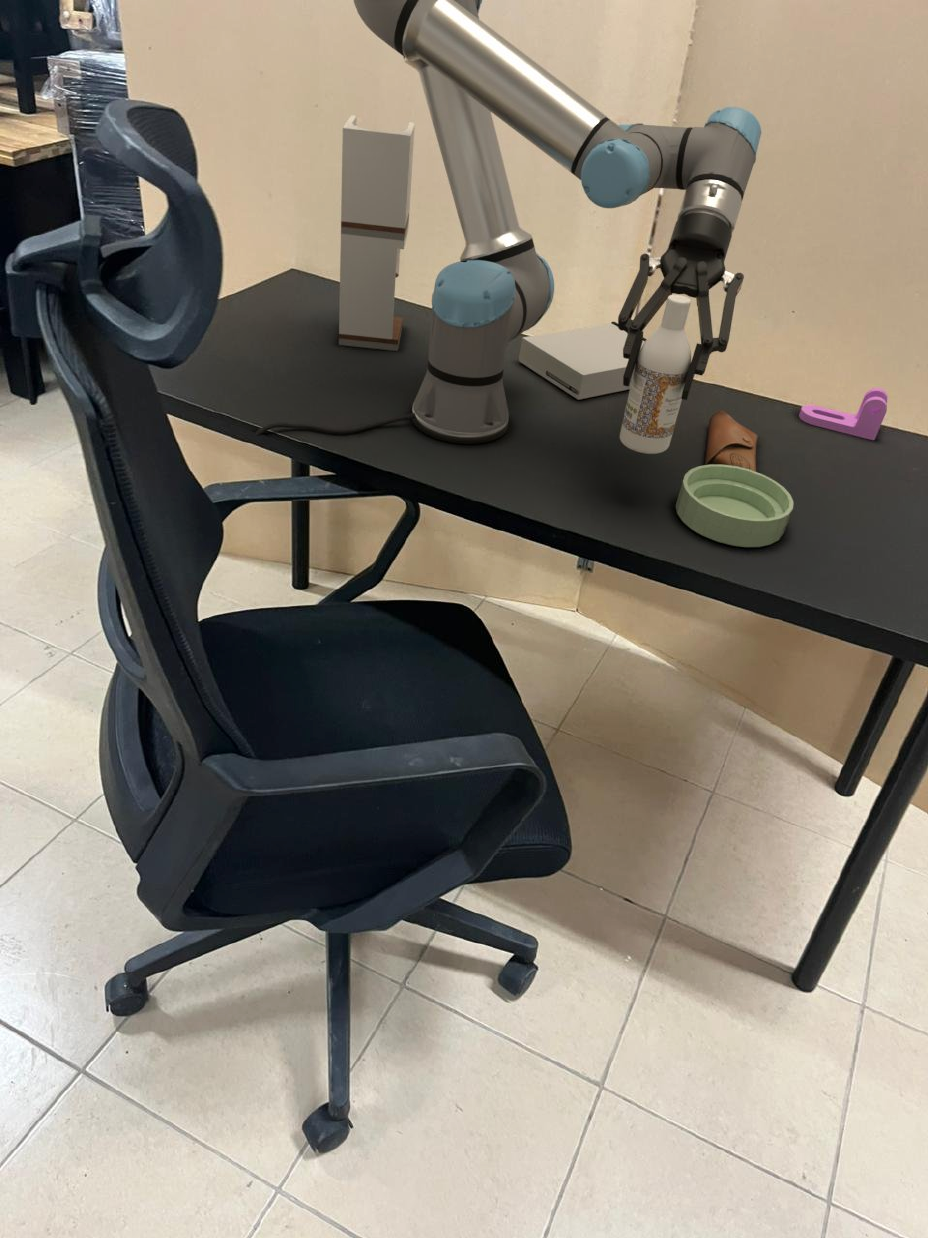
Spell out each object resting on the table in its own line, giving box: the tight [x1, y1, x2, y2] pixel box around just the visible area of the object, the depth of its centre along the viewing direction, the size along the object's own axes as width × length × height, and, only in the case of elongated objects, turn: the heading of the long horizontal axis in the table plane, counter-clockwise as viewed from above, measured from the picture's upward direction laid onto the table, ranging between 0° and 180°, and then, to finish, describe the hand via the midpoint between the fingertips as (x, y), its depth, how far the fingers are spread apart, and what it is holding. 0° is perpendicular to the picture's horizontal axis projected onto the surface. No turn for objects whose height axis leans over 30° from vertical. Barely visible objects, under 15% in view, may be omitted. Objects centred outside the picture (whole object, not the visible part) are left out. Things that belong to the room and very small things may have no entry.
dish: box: [675, 464, 795, 548], centre depth 126 cm, size 15×15×4 cm
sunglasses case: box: [704, 410, 759, 472], centre depth 142 cm, size 18×7×7 cm, turn 166°
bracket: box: [798, 387, 888, 441], centre depth 155 cm, size 13×6×7 cm, turn 68°
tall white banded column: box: [338, 114, 416, 352], centre depth 156 cm, size 11×11×35 cm
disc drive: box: [518, 321, 647, 401], centre depth 163 cm, size 18×22×5 cm
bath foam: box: [619, 294, 692, 455], centre depth 118 cm, size 7×7×20 cm
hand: (655, 388), depth 115 cm, fingers closed on bath foam, 7 cm apart
